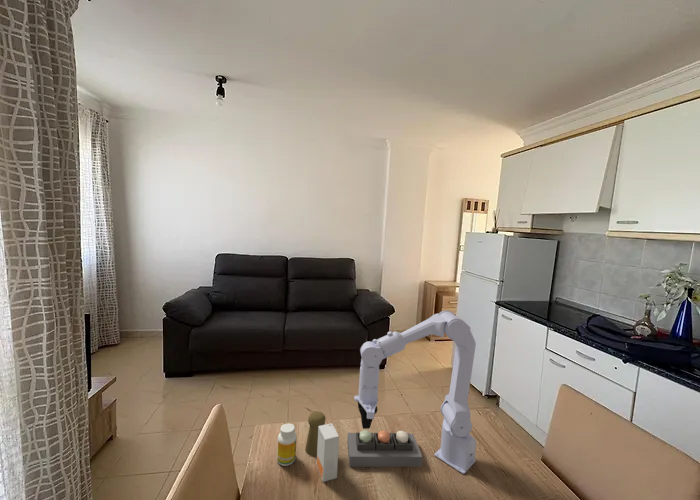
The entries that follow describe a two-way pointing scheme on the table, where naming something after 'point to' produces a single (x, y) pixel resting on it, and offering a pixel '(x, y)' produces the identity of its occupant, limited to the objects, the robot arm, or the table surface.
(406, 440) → the cream button
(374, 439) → the charcoal button panel
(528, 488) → the table surface
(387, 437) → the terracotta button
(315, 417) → the olive pepper mill
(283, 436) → the supplement bottle
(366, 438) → the sage button
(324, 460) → the skincare box
